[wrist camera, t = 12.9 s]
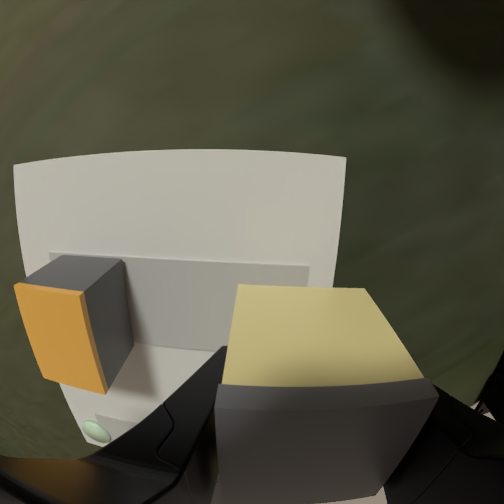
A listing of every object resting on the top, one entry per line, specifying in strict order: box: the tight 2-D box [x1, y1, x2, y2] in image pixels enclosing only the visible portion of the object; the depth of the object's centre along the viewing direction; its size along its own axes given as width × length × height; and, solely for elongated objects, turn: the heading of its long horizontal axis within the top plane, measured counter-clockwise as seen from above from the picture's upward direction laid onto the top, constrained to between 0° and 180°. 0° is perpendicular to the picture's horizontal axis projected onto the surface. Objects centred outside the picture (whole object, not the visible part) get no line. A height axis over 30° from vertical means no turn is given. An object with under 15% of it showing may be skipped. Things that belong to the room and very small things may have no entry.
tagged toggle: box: [14, 255, 134, 395], centre depth 10 cm, size 3×4×3 cm
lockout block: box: [214, 284, 440, 504], centre depth 7 cm, size 4×4×5 cm
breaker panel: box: [14, 149, 346, 447], centre depth 13 cm, size 14×18×2 cm
